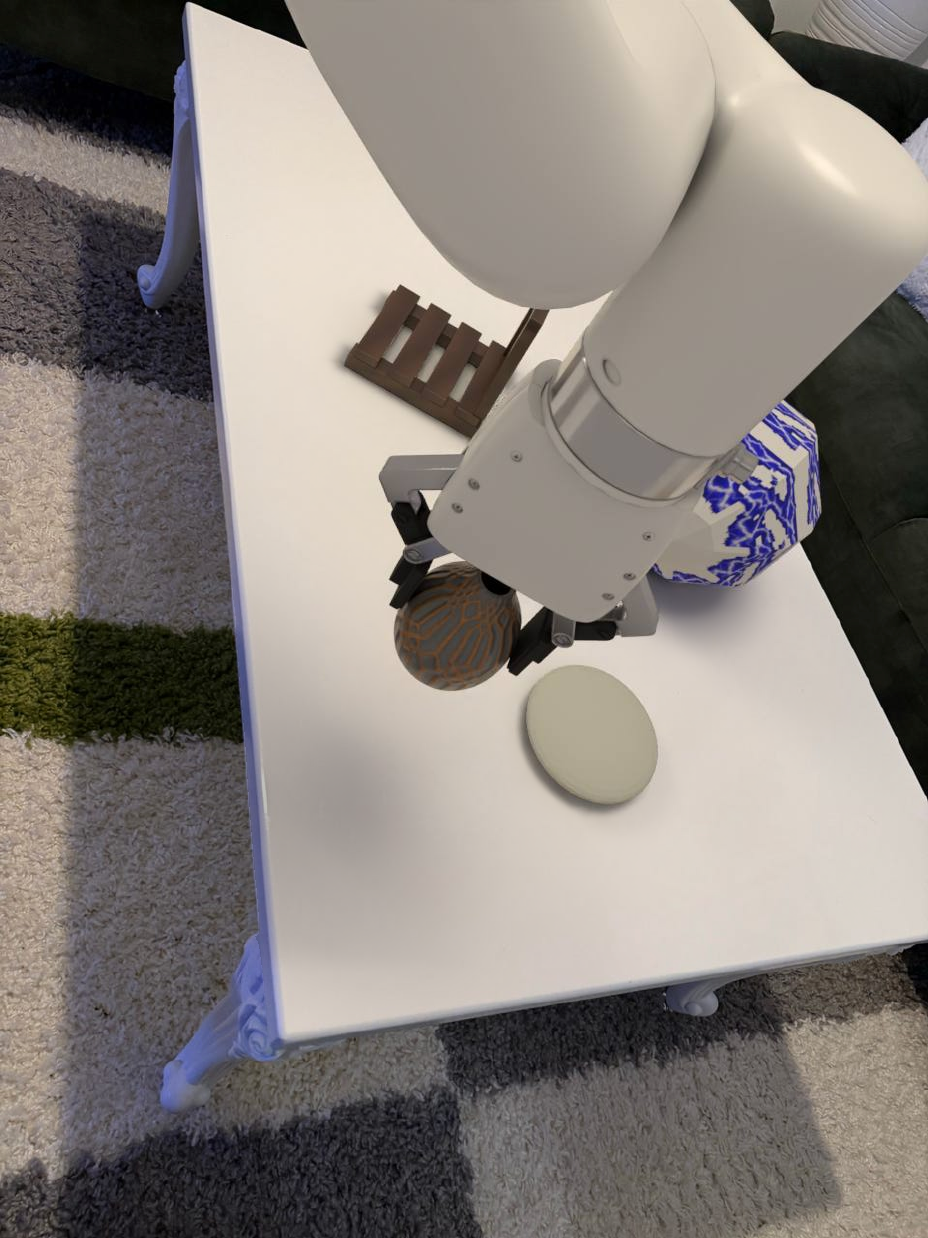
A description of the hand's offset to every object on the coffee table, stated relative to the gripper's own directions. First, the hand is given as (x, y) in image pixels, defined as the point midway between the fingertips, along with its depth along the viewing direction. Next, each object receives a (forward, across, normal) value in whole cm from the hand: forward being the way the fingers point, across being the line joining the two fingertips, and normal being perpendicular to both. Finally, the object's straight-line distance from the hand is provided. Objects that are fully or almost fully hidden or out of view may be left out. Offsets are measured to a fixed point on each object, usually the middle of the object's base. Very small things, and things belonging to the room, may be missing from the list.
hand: (461, 621), depth 50 cm
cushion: (+18, -17, -10) cm, 27 cm away
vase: (+4, 0, 0) cm, 4 cm away
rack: (+19, +9, -41) cm, 46 cm away
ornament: (+18, -19, -36) cm, 44 cm away
